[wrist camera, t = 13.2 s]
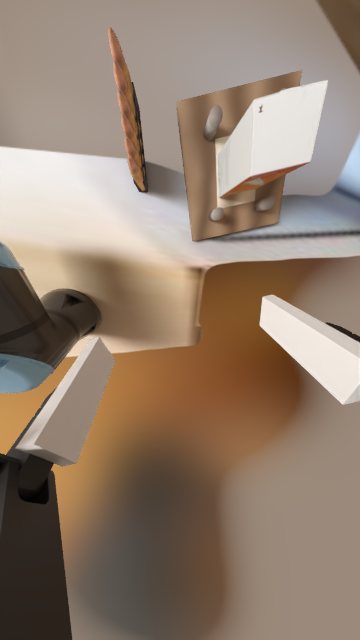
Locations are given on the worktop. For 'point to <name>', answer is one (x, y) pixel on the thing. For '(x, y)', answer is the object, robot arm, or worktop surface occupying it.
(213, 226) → the stub base plate
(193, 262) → the worktop surface
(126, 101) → the ammunition clip
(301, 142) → the small box
